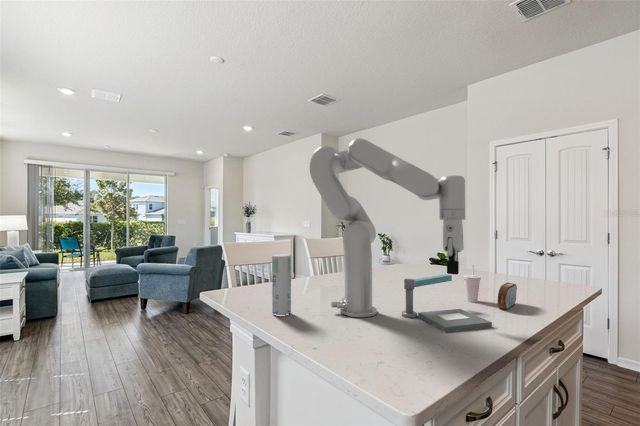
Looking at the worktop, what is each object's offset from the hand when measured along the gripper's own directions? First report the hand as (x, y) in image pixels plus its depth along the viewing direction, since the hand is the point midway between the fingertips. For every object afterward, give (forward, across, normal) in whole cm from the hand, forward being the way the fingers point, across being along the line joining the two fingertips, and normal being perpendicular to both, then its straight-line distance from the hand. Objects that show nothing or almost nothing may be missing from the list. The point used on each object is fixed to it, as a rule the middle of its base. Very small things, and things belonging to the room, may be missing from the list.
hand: (452, 273), depth 98 cm
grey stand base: (+15, 0, +3) cm, 15 cm away
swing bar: (+6, +8, +9) cm, 13 cm away
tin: (+15, +28, -15) cm, 35 cm away
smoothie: (+15, +30, -3) cm, 34 cm away
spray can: (+15, -20, +52) cm, 58 cm away
